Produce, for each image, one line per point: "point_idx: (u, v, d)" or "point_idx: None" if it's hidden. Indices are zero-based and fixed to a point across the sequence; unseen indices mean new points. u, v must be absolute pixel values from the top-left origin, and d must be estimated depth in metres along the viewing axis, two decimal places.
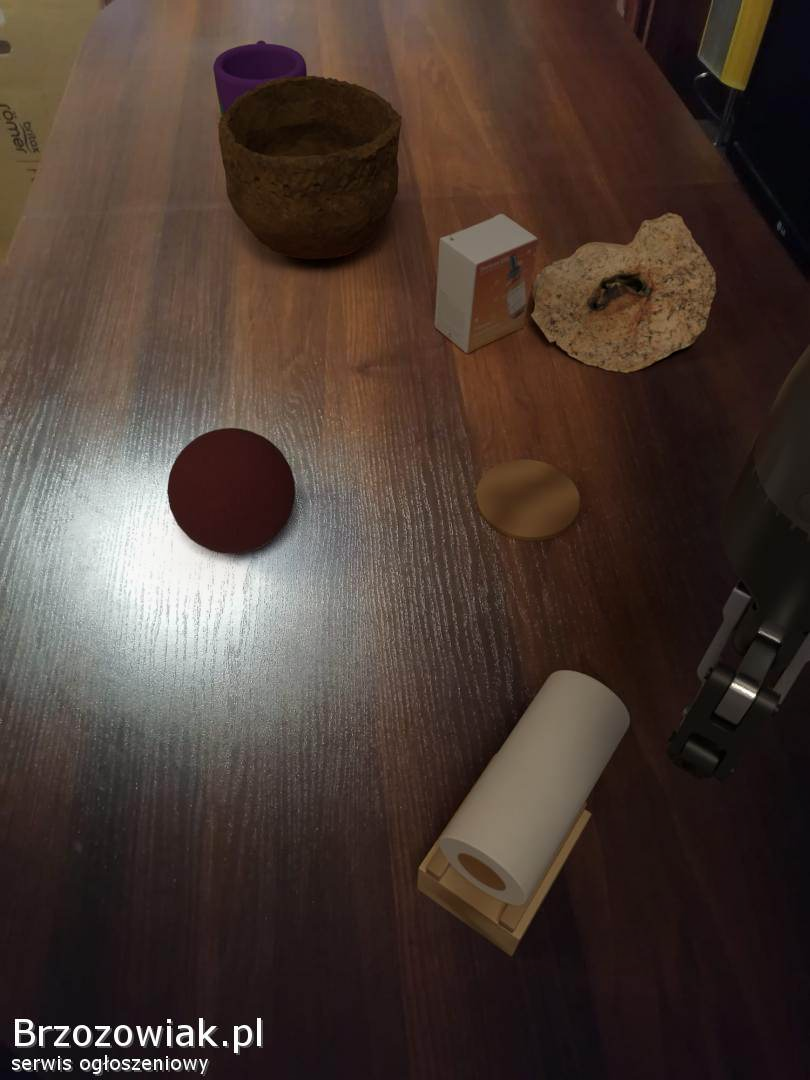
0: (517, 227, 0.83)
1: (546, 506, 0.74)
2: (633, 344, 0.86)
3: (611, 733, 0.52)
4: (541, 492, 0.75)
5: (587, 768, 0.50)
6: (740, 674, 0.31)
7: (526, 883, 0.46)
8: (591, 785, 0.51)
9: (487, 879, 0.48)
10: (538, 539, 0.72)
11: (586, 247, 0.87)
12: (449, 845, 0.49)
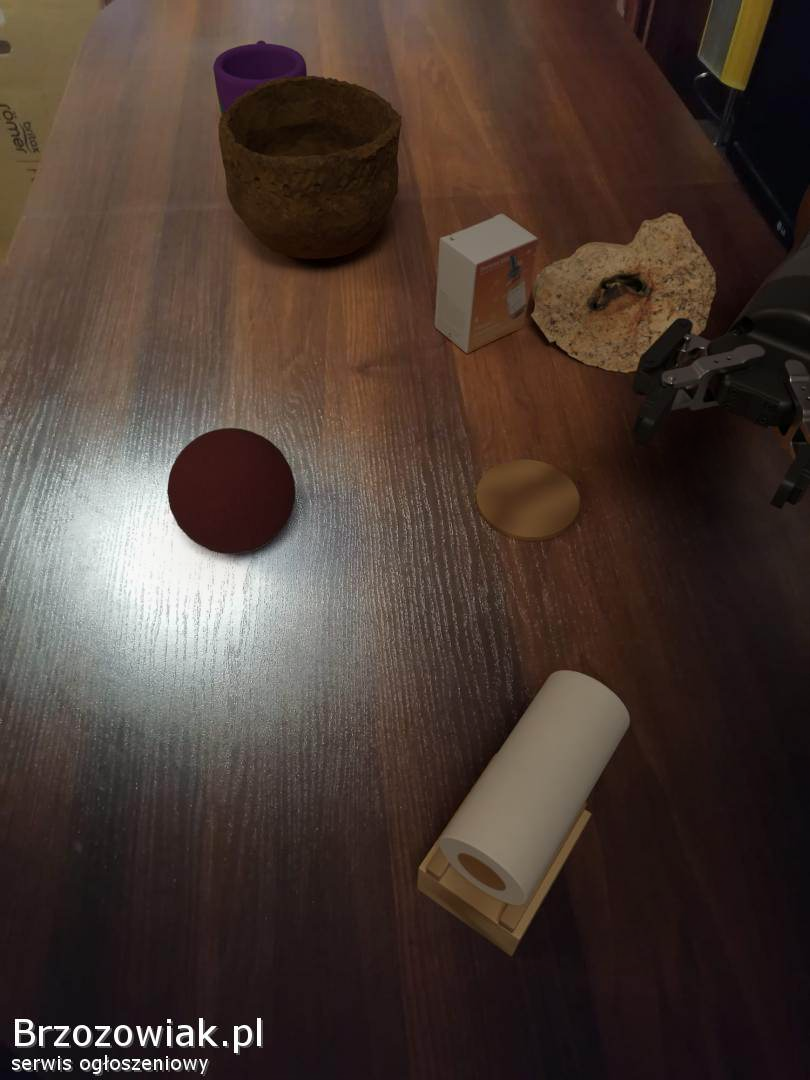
0: (517, 227, 0.83)
1: (546, 506, 0.74)
2: (633, 344, 0.86)
3: (611, 733, 0.52)
4: (541, 492, 0.75)
5: (587, 768, 0.50)
6: None
7: (526, 883, 0.46)
8: (591, 785, 0.51)
9: (487, 879, 0.48)
10: (538, 539, 0.72)
11: (586, 247, 0.87)
12: (449, 845, 0.49)
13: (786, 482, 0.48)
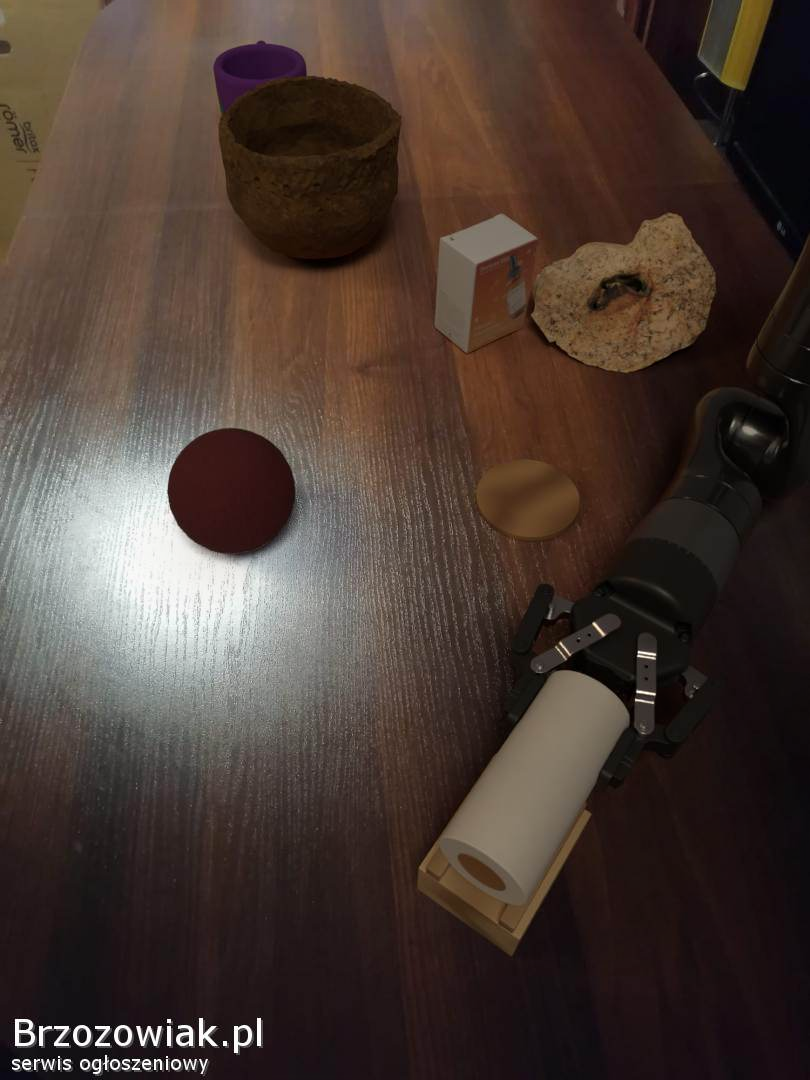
0: (517, 227, 0.83)
1: (546, 506, 0.74)
2: (633, 344, 0.86)
3: (611, 733, 0.52)
4: (541, 492, 0.75)
5: (587, 768, 0.50)
6: None
7: (526, 883, 0.46)
8: (591, 785, 0.51)
9: (487, 879, 0.48)
10: (538, 539, 0.72)
11: (586, 247, 0.87)
12: (449, 845, 0.49)
13: (604, 774, 0.51)
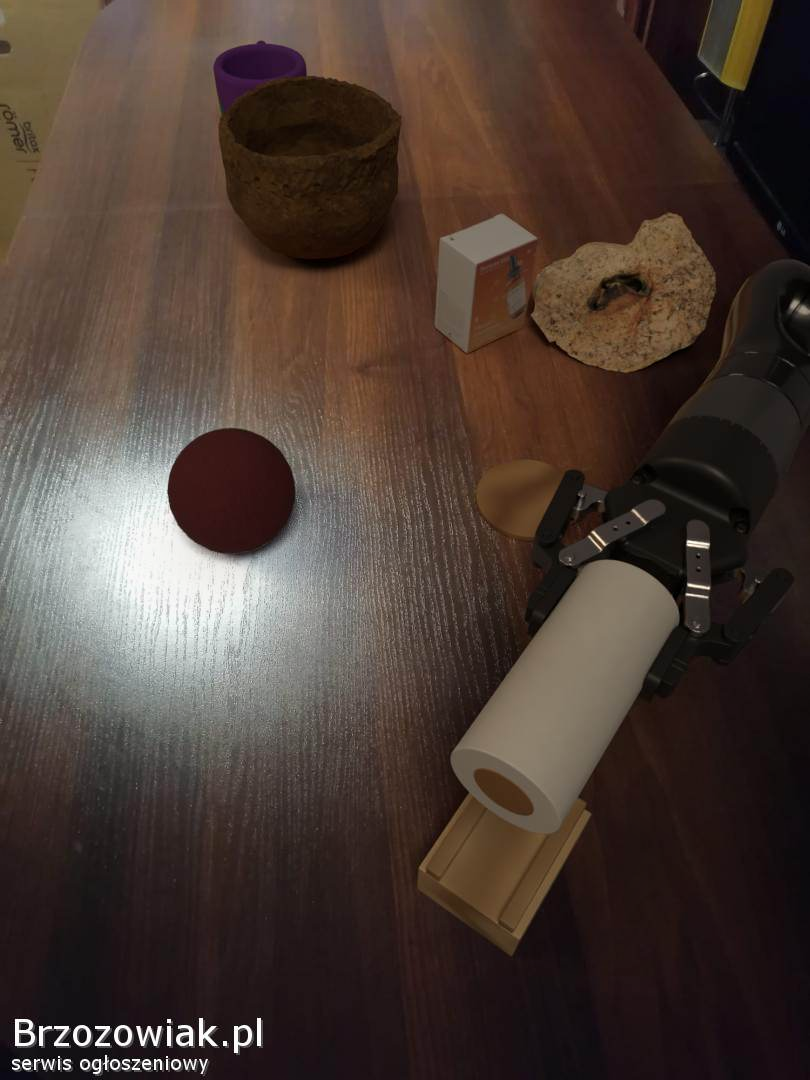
0: (517, 227, 0.83)
1: (546, 506, 0.74)
2: (633, 344, 0.86)
3: (659, 630, 0.43)
4: (541, 492, 0.75)
5: (631, 668, 0.41)
6: None
7: (560, 801, 0.37)
8: (636, 691, 0.42)
9: (510, 801, 0.39)
10: None
11: (586, 247, 0.87)
12: (463, 760, 0.39)
13: (651, 677, 0.42)
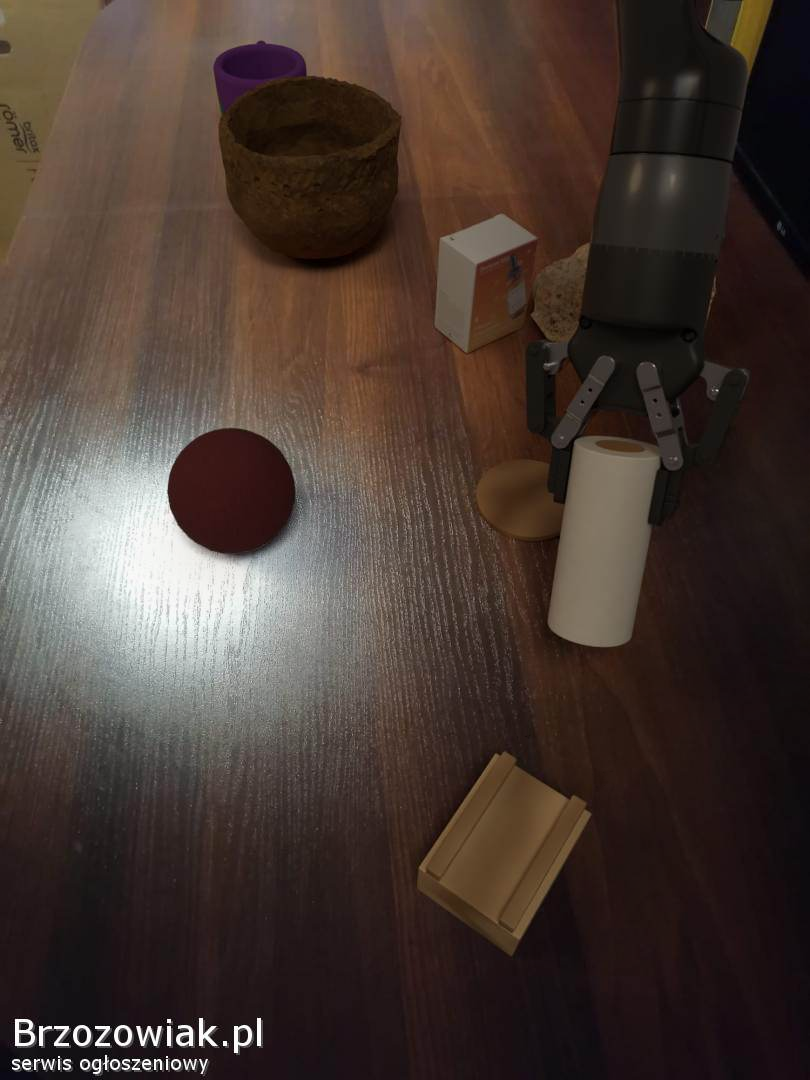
0: (517, 227, 0.83)
1: (546, 506, 0.74)
2: None
3: (642, 490, 0.54)
4: (541, 492, 0.75)
5: (631, 534, 0.55)
6: (545, 340, 0.56)
7: (618, 641, 0.57)
8: (645, 536, 0.55)
9: None
10: (538, 539, 0.72)
11: (586, 247, 0.87)
12: None
13: (651, 522, 0.55)
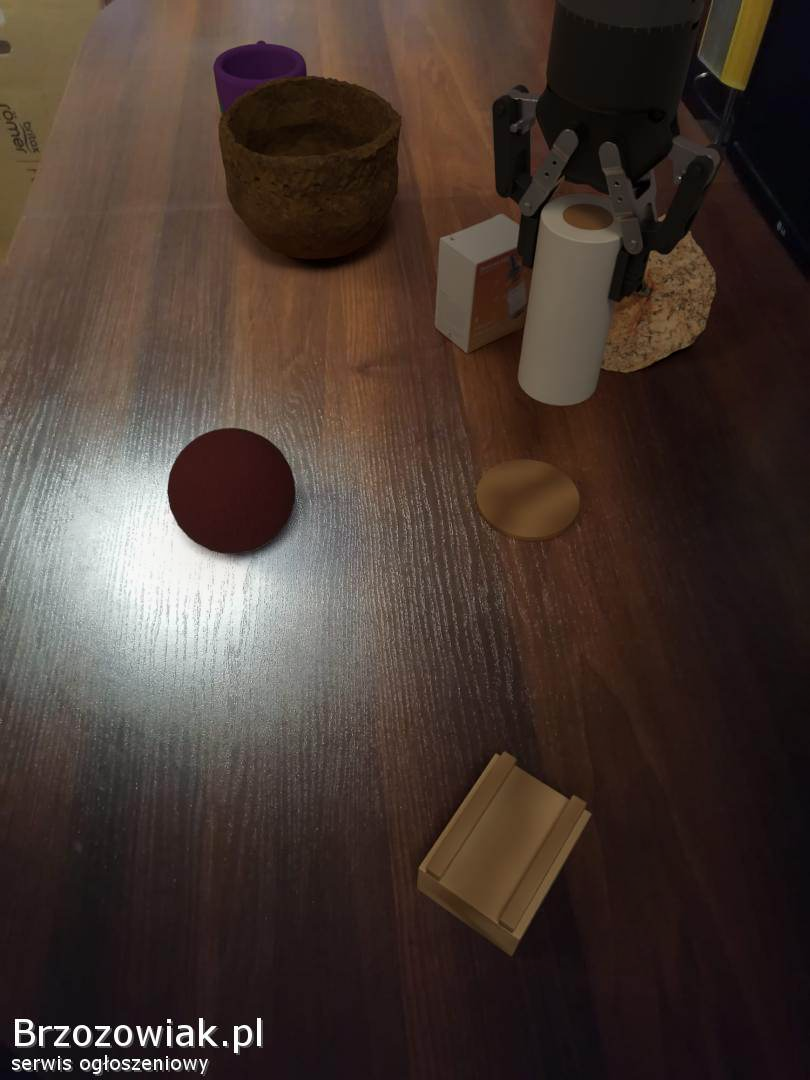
0: (517, 227, 0.83)
1: (546, 506, 0.74)
2: (633, 344, 0.86)
3: (602, 271, 0.53)
4: (541, 492, 0.75)
5: (589, 311, 0.56)
6: (516, 90, 0.51)
7: (577, 399, 0.62)
8: (606, 309, 0.56)
9: None
10: (538, 539, 0.72)
11: None
12: None
13: (611, 299, 0.55)
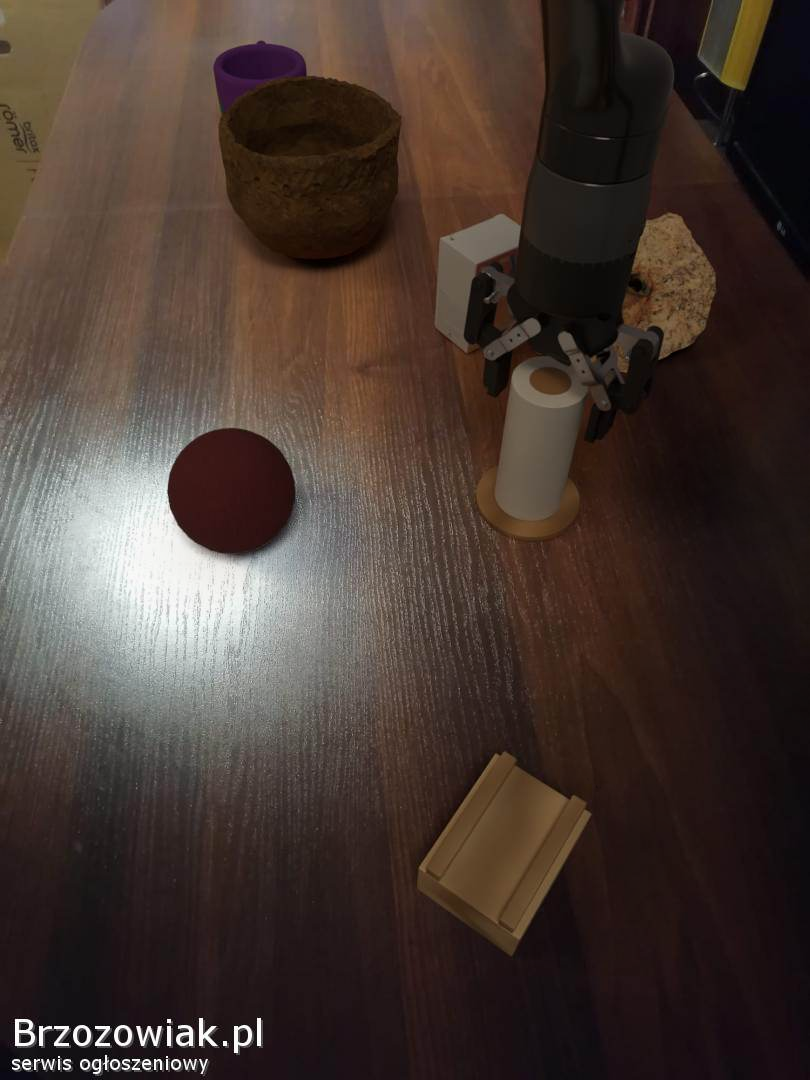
0: (517, 227, 0.83)
1: None
2: None
3: (562, 426, 0.64)
4: None
5: (552, 455, 0.67)
6: (493, 269, 0.61)
7: (544, 516, 0.73)
8: (566, 452, 0.67)
9: None
10: (538, 539, 0.72)
11: None
12: None
13: None
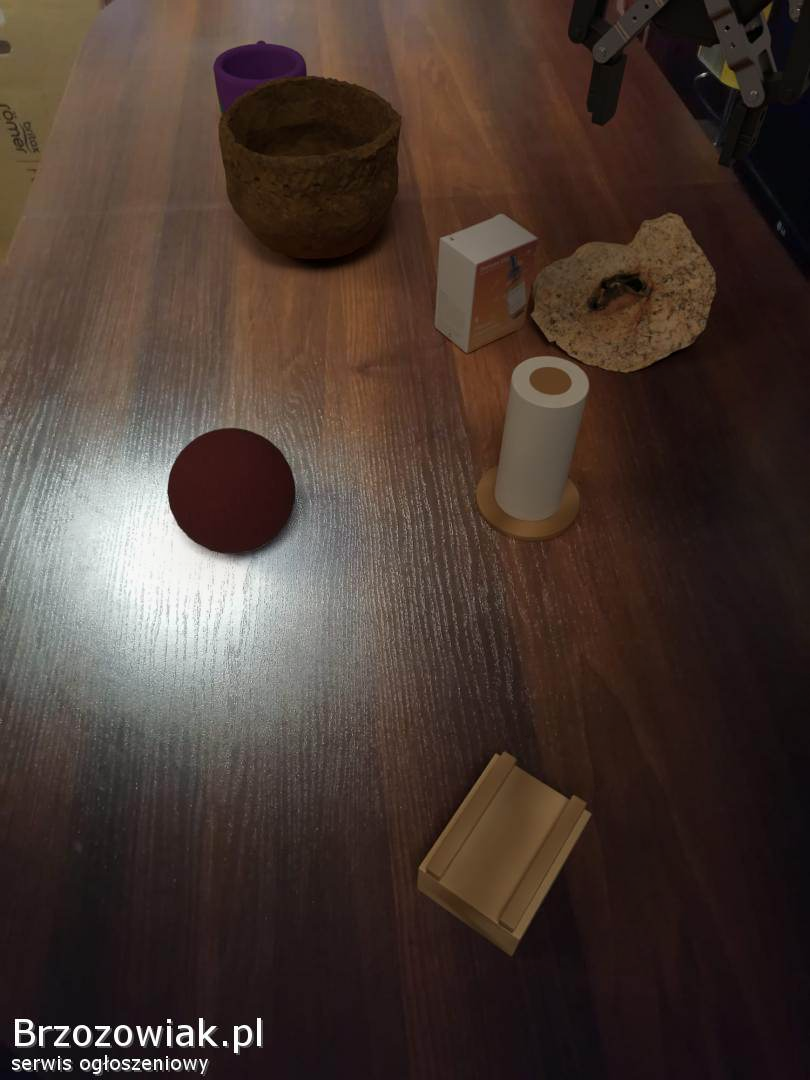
0: (517, 227, 0.83)
1: None
2: (633, 343, 0.86)
3: (562, 426, 0.64)
4: None
5: (552, 455, 0.67)
6: None
7: (544, 516, 0.73)
8: (566, 452, 0.67)
9: None
10: (538, 539, 0.72)
11: (586, 247, 0.87)
12: None
13: (721, 164, 0.52)
